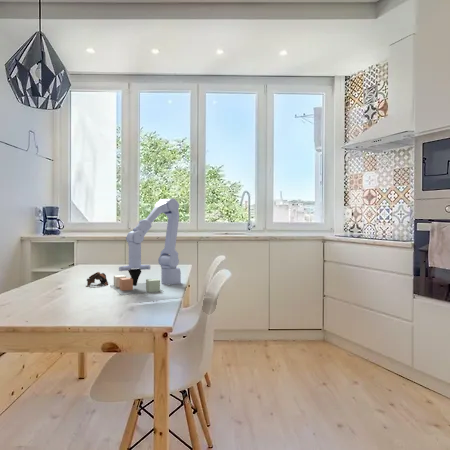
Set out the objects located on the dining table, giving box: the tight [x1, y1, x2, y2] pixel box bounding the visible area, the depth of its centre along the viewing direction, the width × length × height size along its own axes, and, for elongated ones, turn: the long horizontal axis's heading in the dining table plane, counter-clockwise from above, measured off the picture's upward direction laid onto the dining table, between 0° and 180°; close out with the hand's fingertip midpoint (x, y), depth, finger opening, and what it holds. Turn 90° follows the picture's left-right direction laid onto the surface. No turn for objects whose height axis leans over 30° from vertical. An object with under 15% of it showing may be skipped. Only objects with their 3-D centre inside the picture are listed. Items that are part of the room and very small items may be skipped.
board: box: [110, 282, 165, 296], centre depth 177 cm, size 19×26×1 cm
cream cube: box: [113, 274, 127, 288], centre depth 183 cm, size 5×5×5 cm
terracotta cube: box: [120, 276, 133, 291], centre depth 175 cm, size 5×5×5 cm
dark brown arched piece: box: [86, 271, 109, 286], centre depth 189 cm, size 12×10×8 cm
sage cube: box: [145, 278, 161, 293], centre depth 172 cm, size 5×5×5 cm
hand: (134, 285), depth 177 cm, fingers closed
